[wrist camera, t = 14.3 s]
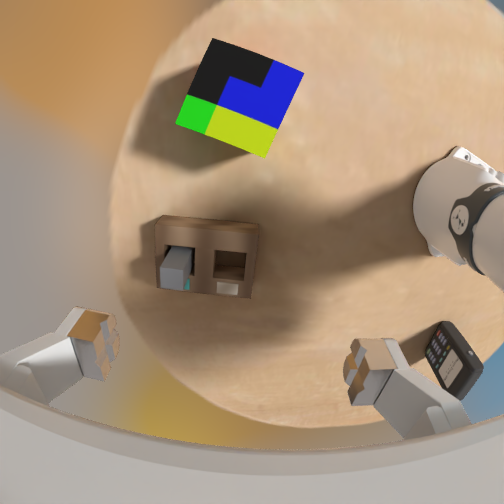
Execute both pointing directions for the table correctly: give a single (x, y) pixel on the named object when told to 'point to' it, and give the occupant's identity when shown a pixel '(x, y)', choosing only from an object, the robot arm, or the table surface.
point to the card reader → (453, 360)
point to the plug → (177, 267)
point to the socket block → (210, 253)
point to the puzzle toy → (239, 97)
